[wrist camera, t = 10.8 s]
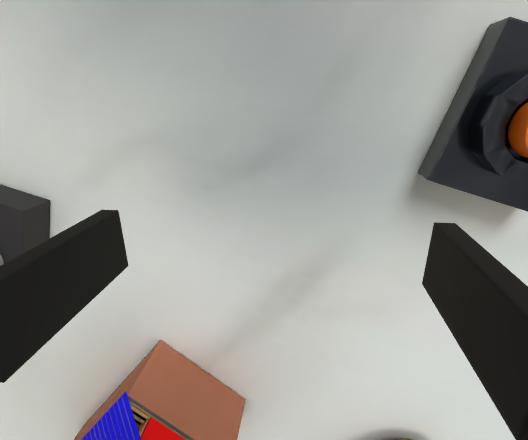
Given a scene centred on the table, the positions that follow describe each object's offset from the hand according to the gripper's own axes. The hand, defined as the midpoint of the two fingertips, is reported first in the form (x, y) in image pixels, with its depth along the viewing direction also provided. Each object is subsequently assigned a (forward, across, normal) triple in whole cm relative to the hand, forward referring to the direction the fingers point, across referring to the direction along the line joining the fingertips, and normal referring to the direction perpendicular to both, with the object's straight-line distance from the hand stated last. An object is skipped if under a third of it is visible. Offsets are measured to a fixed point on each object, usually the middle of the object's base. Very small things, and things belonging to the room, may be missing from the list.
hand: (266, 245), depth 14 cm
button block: (+13, +15, +4) cm, 20 cm away
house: (+13, -15, -29) cm, 35 cm away
